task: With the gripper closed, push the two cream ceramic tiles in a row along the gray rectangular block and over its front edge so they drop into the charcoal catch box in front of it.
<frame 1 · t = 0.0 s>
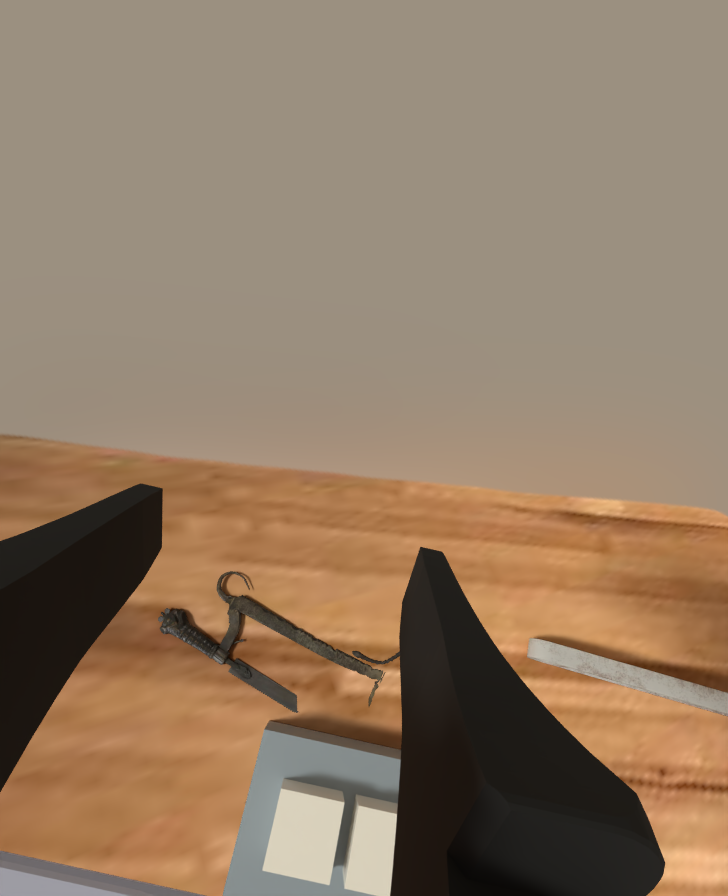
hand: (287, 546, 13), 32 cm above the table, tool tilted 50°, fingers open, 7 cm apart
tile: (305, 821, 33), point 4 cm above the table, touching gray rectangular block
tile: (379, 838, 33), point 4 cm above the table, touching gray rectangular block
hacksaw: (300, 641, 42), on the table
gray rectangular block: (336, 809, 37), on the table
wrench: (674, 693, 43), on the table
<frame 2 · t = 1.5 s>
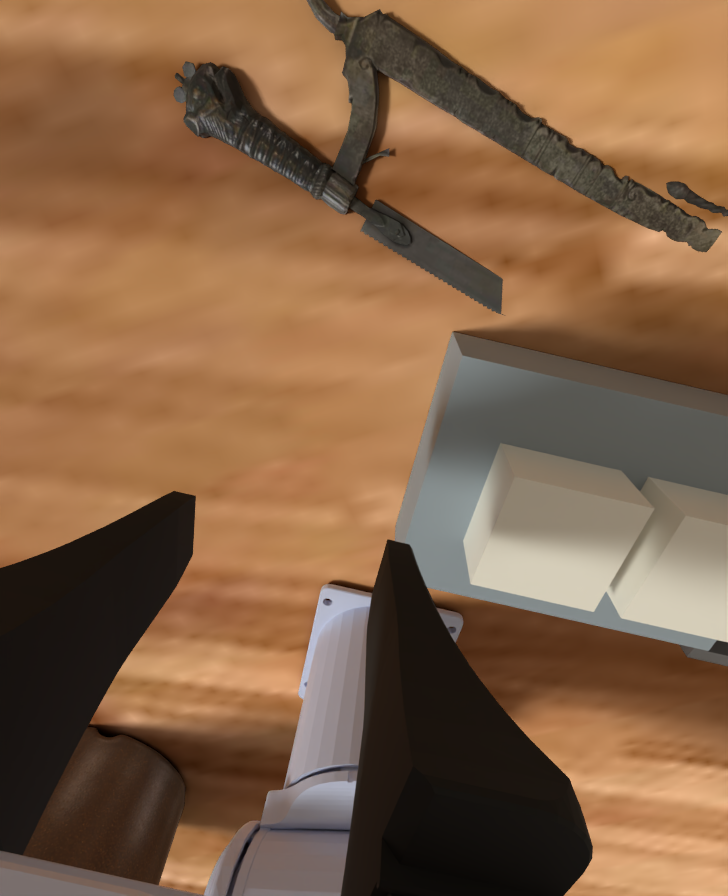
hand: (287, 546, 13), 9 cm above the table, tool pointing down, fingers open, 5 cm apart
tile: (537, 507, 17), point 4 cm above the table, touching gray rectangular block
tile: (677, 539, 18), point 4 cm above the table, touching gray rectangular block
plant pot: (111, 769, 36), on the table
hacksaw: (528, 159, 17), on the table
gray rectangular block: (568, 472, 21), on the table
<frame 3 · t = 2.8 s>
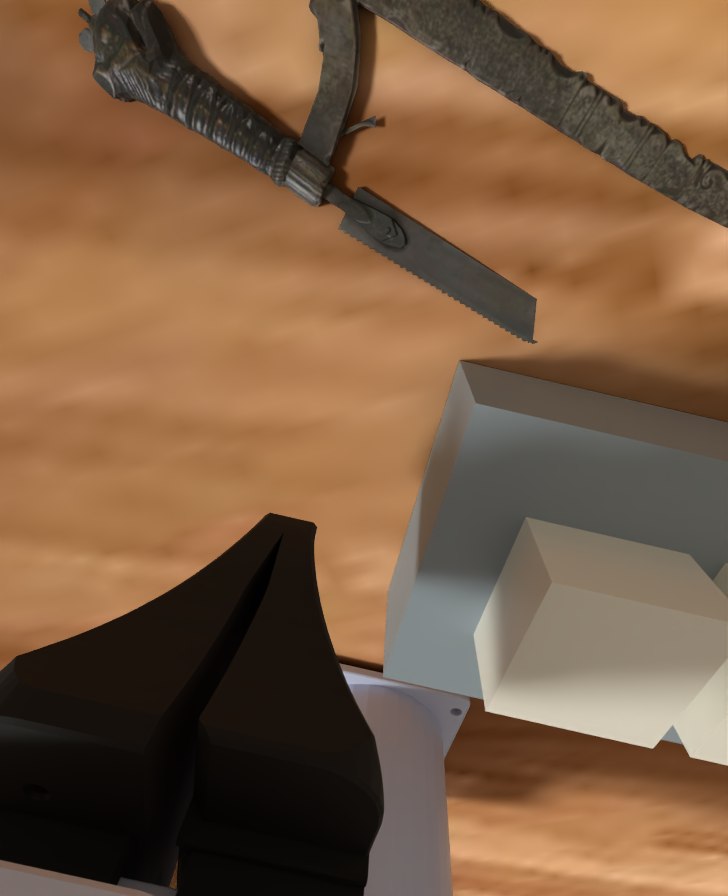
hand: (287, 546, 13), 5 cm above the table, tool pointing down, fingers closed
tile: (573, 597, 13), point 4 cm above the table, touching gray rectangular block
hacksaw: (563, 132, 12), on the table
gray rectangular block: (604, 533, 17), on the table
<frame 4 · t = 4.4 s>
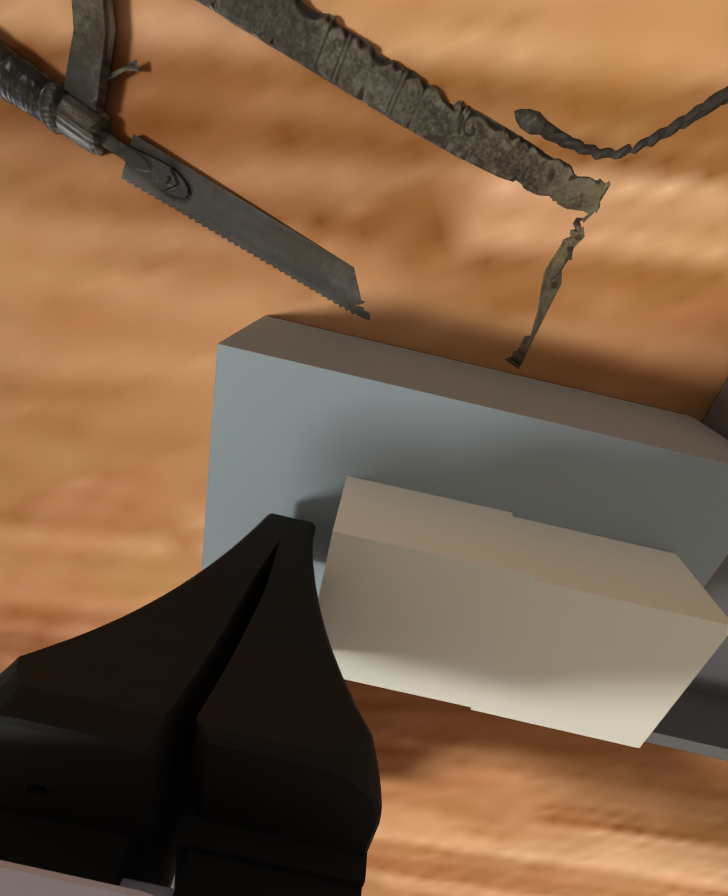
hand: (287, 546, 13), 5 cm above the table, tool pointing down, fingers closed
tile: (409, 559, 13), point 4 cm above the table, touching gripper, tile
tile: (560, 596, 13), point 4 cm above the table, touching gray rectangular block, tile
hacksaw: (335, 81, 12), on the table, touching gray rectangular block
gray rectangular block: (435, 496, 17), on the table
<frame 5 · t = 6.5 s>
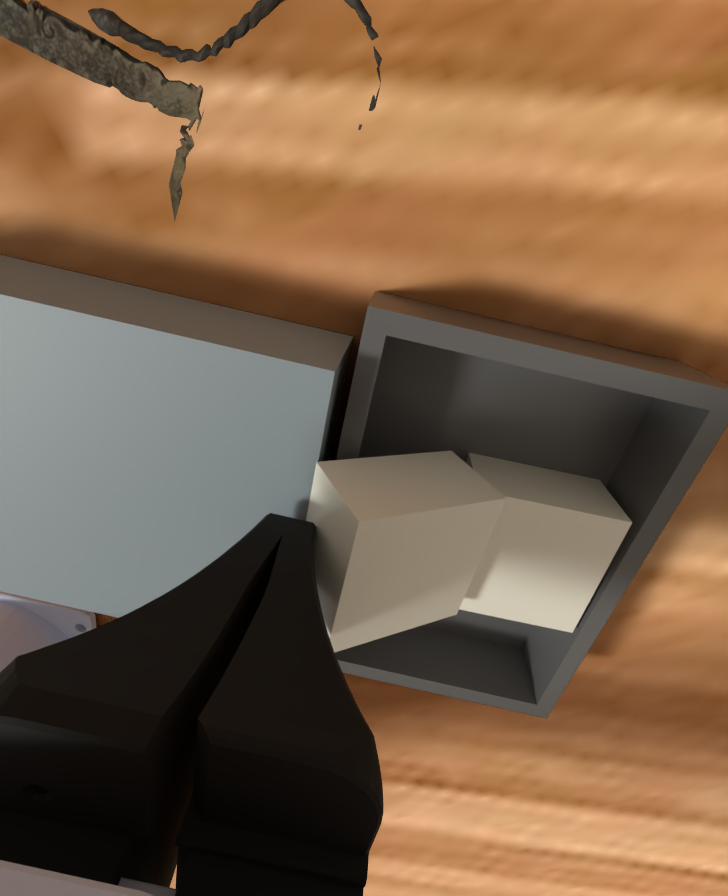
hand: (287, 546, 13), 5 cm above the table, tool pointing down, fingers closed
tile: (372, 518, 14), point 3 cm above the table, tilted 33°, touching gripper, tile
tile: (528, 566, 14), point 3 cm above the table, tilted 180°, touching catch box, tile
catch box: (464, 502, 17), on the table
gray rectangular block: (139, 427, 17), on the table
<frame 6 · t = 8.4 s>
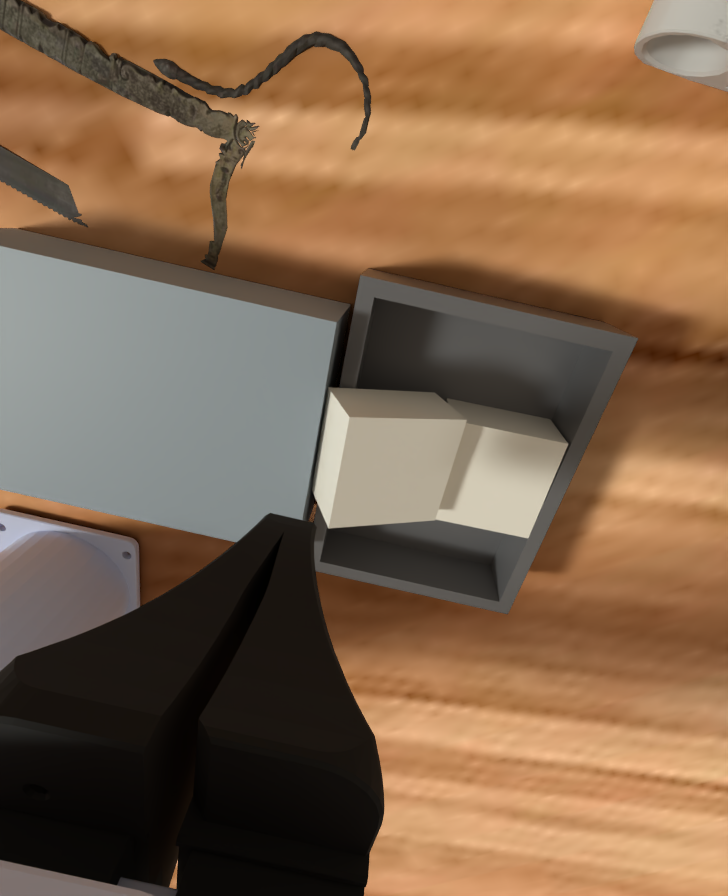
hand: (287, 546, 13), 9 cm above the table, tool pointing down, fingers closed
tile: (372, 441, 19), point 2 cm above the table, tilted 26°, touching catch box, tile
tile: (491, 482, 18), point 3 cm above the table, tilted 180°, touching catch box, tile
hacksaw: (34, 40, 16), on the table, touching gray rectangular block
catch box: (441, 440, 21), on the table
gray rectangular block: (180, 381, 21), on the table
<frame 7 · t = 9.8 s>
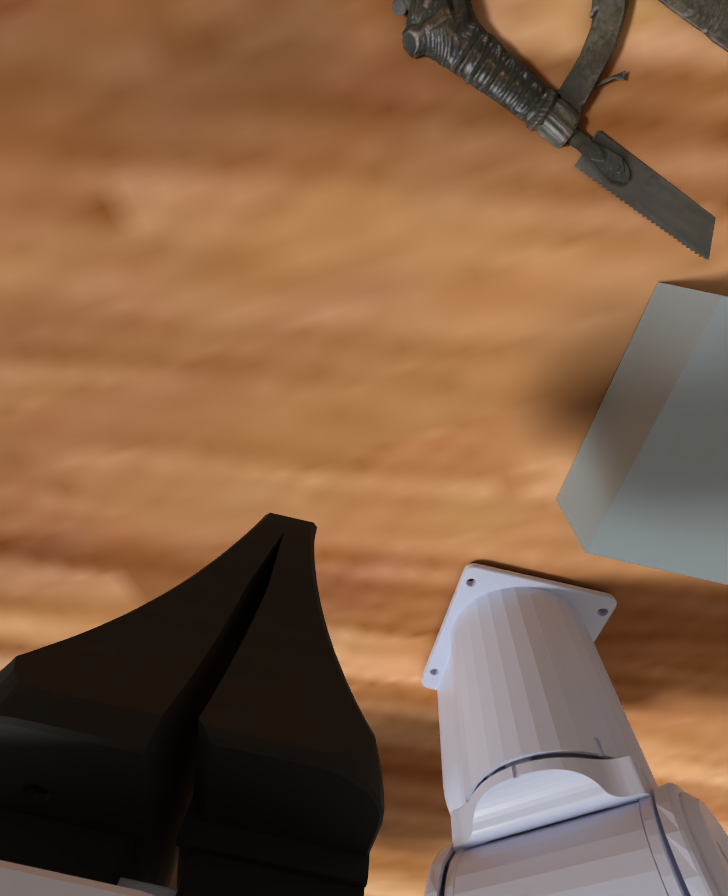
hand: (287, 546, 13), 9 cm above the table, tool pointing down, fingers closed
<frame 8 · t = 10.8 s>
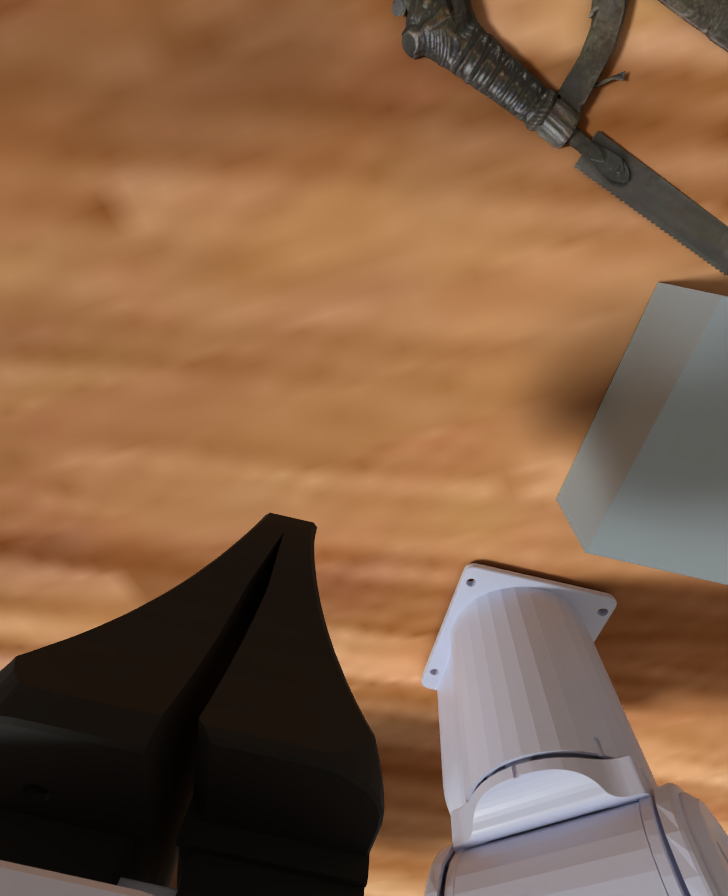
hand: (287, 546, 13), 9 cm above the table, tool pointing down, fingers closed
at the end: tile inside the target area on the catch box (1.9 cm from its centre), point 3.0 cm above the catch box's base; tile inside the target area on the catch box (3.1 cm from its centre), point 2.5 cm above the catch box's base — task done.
